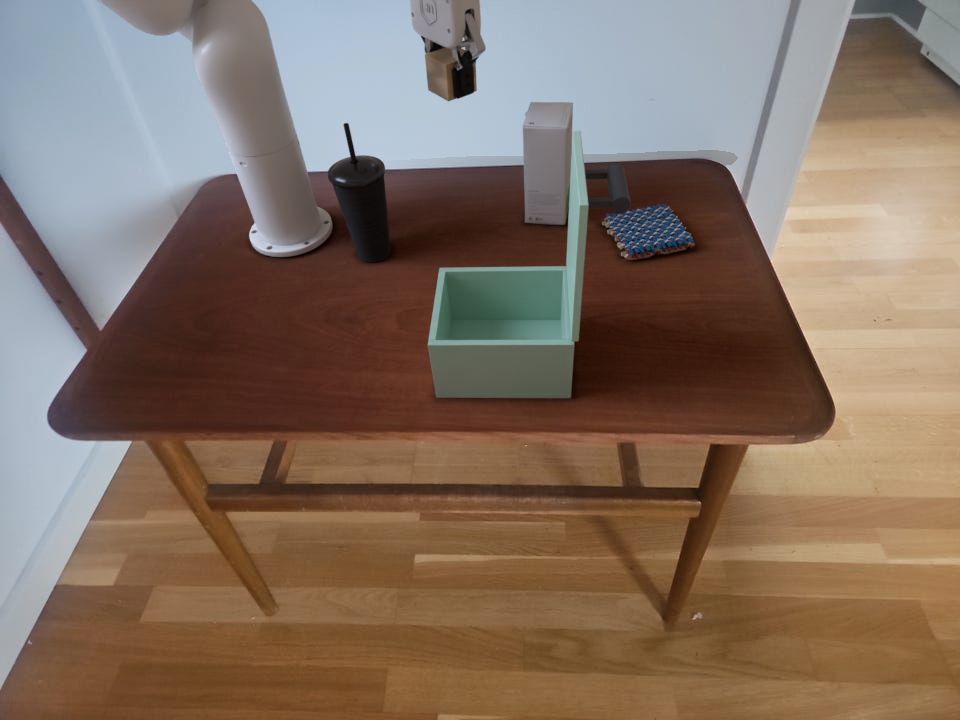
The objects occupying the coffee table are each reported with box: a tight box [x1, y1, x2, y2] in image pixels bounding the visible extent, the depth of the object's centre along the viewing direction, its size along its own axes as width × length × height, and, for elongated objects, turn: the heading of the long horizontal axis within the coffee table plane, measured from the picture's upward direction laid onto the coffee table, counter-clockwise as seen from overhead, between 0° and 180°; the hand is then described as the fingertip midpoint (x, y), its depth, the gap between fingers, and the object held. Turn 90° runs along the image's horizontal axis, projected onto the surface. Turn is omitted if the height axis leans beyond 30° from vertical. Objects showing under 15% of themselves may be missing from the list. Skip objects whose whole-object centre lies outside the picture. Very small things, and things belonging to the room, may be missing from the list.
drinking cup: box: [327, 122, 391, 264], centre depth 88 cm, size 8×8×20 cm
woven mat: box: [601, 203, 696, 261], centre depth 93 cm, size 10×11×2 cm
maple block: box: [424, 47, 478, 102], centre depth 90 cm, size 5×5×5 cm
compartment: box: [427, 265, 575, 399], centre depth 76 cm, size 16×13×9 cm
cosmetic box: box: [522, 101, 574, 226], centre depth 95 cm, size 8×7×16 cm
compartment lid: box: [565, 130, 632, 342], centre depth 66 cm, size 17×13×5 cm
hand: (451, 87), depth 91 cm, fingers closed on maple block, 5 cm apart
